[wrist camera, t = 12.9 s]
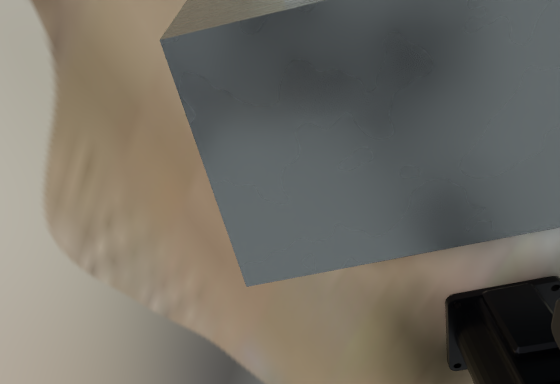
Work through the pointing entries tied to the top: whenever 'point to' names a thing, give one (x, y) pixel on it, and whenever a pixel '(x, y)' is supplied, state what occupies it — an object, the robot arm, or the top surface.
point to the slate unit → (370, 124)
